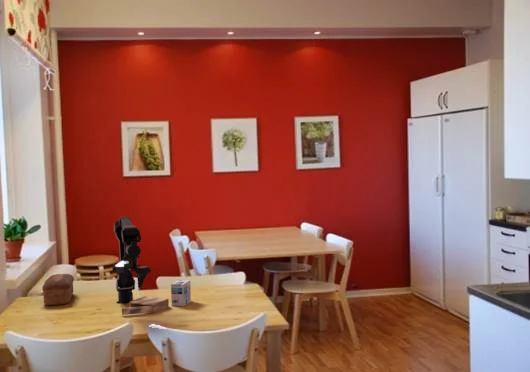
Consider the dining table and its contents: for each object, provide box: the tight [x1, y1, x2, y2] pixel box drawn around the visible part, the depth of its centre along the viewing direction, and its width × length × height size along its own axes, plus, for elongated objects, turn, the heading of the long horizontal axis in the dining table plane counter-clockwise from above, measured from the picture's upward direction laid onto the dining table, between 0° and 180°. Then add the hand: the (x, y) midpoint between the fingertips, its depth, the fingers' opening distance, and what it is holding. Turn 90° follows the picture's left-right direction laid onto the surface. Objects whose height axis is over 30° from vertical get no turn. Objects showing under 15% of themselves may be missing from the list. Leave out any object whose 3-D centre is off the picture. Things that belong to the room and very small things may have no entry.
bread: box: [41, 273, 75, 306], centre depth 310 cm, size 14×28×12 cm, turn 12°
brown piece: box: [128, 295, 170, 314], centre depth 288 cm, size 14×12×4 cm
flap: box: [121, 306, 153, 316], centre depth 278 cm, size 14×1×3 cm, turn 104°
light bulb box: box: [170, 279, 192, 307], centre depth 297 cm, size 11×7×11 cm, turn 168°
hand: (131, 287), depth 279 cm, fingers open, 9 cm apart
